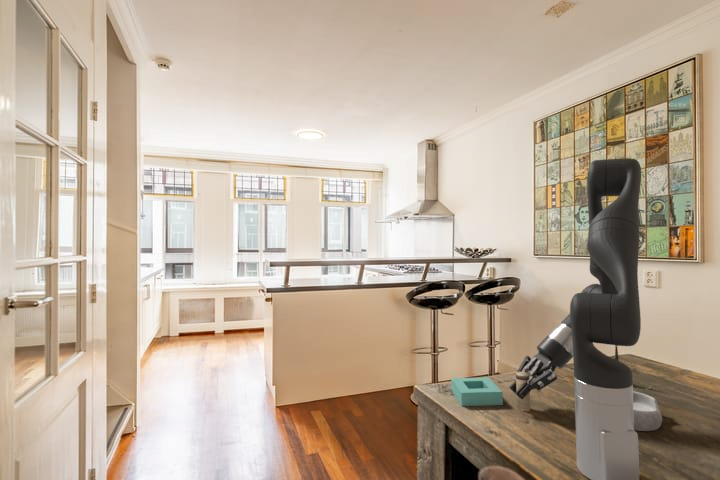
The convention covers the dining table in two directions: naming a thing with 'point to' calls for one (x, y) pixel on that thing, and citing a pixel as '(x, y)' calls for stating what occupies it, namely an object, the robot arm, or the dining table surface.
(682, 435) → the dining table surface
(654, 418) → the dish
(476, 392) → the teal square frame
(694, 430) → the dining table surface
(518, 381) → the tan banded cylinder
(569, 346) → the robot arm
